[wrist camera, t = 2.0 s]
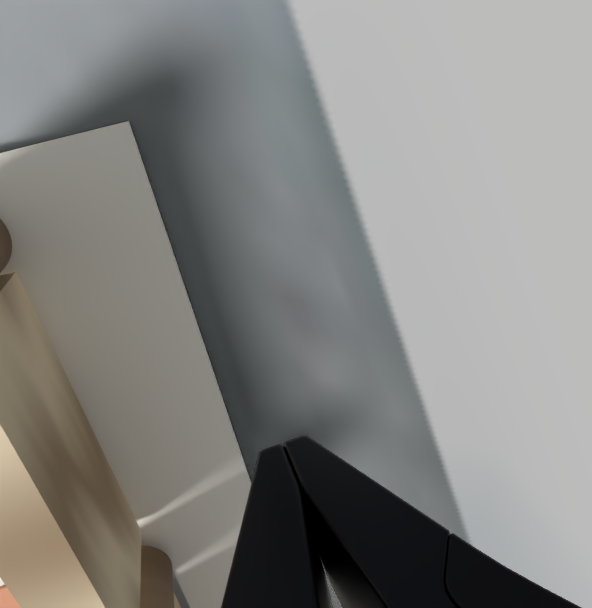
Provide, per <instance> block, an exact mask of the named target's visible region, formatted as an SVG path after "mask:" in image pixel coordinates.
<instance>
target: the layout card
mask: <svg viewBox="0 0 592 608" xmlns="http://www.w3.org/2000/svg"><path fill="white" fill-rule="evenodd" d="M0 219H1V220H2V221H3V223H4V224H5V225H6V227H7V229H8V231H9V233H10V236H11V240H12V253H11V257H10V260H9V262H8V264H7V265H6V267H5V268H4V269H3V270H2V271H1V273H0V276H1V275H5V274H8V273H12V272H17V274H18V276H19V279H20V281H21V283H22V285H23V287H24V289H25V291H26V293H27V295H28V297H29V299H30V301H31V303H32V305H33V308H34V310H35V312H36V314H37V316H38V318H39V320H40V322H41V324H42V326H43V328H44V330H45V332H46V335H47V337H48V339H49V341H50V343H51V345H52V347H53V349H54V351H55V353H56V355H57V357H58V359H59V362H60V364H61V366H62V368H63V370H64V372H65V374H66V376H67V378H68V380H69V382H70V384H71V386H72V388H73V391H74V393H75V395H76V397H77V399H78V401H79V403H80V405H81V407H82V409H83V411H84V413H85V415H86V418H87V420H88V422H89V424H90V426H91V428H92V430H93V432H94V434H95V436H96V438H97V440H98V442H99V445H100V447H101V449H102V451H103V453H104V455H105V457H106V459H107V461H108V463H109V465H110V467H111V469H112V471H113V474H114V476H115V478H116V480H117V482H118V484H119V486H120V488H121V490H122V492H123V494H124V496H125V498H126V501H127V503H128V505H129V507H130V509H131V511H132V513H133V515H134V517H135V519H136V521H137V523H138V525H139V528H140V530H141V545H145V546H152V547H155V548H158V549H160V550H162V551H163V552H165V553H166V554H167V555H168V556H169V558H170V560H171V562H172V567H173V587H174V594H175V596H176V598H177V600H178V602H179V604H180V606H181V608H221V605H222V601H223V597H224V593H225V589H226V585H227V581H228V577H229V573H230V568H231V564H232V560H233V556H234V552H235V548H236V544H237V540H238V536H239V532H240V528H241V524H242V520H243V515H244V511H245V507H246V503H247V499H248V495H249V491H250V487H251V480H250V478H249V475H248V472H247V469H246V466H245V463H244V460H243V457H242V454H241V451H240V448H239V445H238V442H237V439H236V436H235V433H234V430H233V427H232V424H231V421H230V418H229V415H228V412H227V410H226V407H225V404H224V401H223V398H222V395H221V392H220V389H219V386H218V383H217V380H216V377H215V374H214V371H213V368H212V365H211V362H210V359H209V356H208V353H207V350H206V347H205V344H204V342H203V339H202V336H201V333H200V330H199V327H198V324H197V321H196V318H195V315H194V312H193V309H192V306H191V303H190V300H189V297H188V294H187V291H186V288H185V285H184V282H183V279H182V276H181V274H180V271H179V268H178V265H177V262H176V259H175V256H174V253H173V250H172V247H171V244H170V241H169V238H168V235H167V232H166V229H165V226H164V223H163V220H162V217H161V214H160V211H159V208H158V206H157V203H156V200H155V197H154V194H153V191H152V188H151V185H150V182H149V179H148V176H147V173H146V170H145V167H144V164H143V161H142V158H141V155H140V152H139V149H138V146H137V143H136V140H135V138H134V135H133V132H132V129H131V126H130V123H129V121H126V122H122V123H118V124H114V125H110V126H106V127H102V128H98V129H94V130H90V131H86V132H82V133H78V134H74V135H70V136H66V137H62V138H58V139H54V140H50V141H46V142H42V143H38V144H34V145H30V146H26V147H22V148H18V149H14V150H9V151H5V152H1V153H0ZM0 608H21V607H20V606H19V604H18V603H17V601H16V600H15V598H14V597H13V596H12V594H11V593H10V591H9V590H8V588H7V587H6V585H5V584H4V582H3V581H2V579H1V578H0Z"/></svg>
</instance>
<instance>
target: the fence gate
mask: <svg viewBox="0 0 592 608" xmlns="http://www.w3.org/2000/svg"><path fill="white" fill-rule="evenodd" d="M11 253H12V240H11V236H10V233H9V231H8V229H7V227H6V225H5V224H4V223H3V221H2V220H1V219H0V273H1V271H2V270H3V269H4V268H5V267H6V265H7V264H8V262H9V260H10V257H11ZM0 578H1V579H2V581H3V582H4V584H5V585H6V587H7V588H8V590H9V591H10V593H11V594H12V596H13V597H14V598H15V600H16V601H17V603H18V604H19V606H20V607H21V608H174V587H173V567H172V562H171V560H170V558H169V556H168V555H167V554H166V553H165V552H163V551H162V550H160V549H158V548H155V547H152V546H145V545H141V530H140V528H139V525H138V523H137V521H136V519H135V517H134V515H133V513H132V511H131V509H130V507H129V505H128V503H127V501H126V498H125V496H124V494H123V492H122V490H121V488H120V486H119V484H118V482H117V480H116V478H115V476H114V474H113V471H112V469H111V467H110V465H109V463H108V461H107V459H106V457H105V455H104V453H103V451H102V449H101V447H100V445H99V442H98V440H97V438H96V436H95V434H94V432H93V430H92V428H91V426H90V424H89V422H88V420H87V418H86V415H85V413H84V411H83V409H82V407H81V405H80V403H79V401H78V399H77V397H76V395H75V393H74V391H73V388H72V386H71V384H70V382H69V380H68V378H67V376H66V374H65V372H64V370H63V368H62V366H61V364H60V362H59V359H58V357H57V355H56V353H55V351H54V349H53V347H52V345H51V343H50V341H49V339H48V337H47V335H46V332H45V330H44V328H43V326H42V324H41V322H40V320H39V318H38V316H37V314H36V312H35V310H34V308H33V305H32V303H31V301H30V299H29V297H28V295H27V293H26V291H25V289H24V287H23V285H22V283H21V281H20V279H19V276H18V274H17V272H12V273H8V274H5V275H1V276H0Z"/></svg>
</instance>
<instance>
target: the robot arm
mask: <svg viewBox="0 0 592 608" xmlns="http://www.w3.org/2000/svg"><path fill="white" fill-rule="evenodd" d="M322 563H323V565H322ZM323 566H324V568H323ZM324 569H325V571H326V574H327V576H328V578H329V580H330V582H331V585H332V587H333V589H334V591H335V593H336V595H337V597H338V599H339V601H340V603H341V605H342V607H343V608H581V607H579V606H577V605H575V604H573V603H571V602H570V601H568V600H566V599H564V598H562V597H560V596H558V595H556V594H554V593H552V592H550V591H549V590H547V589H545V588H543V587H541V586H539V585H537V584H536V583H534V582H532V581H530V580H528V579H527V578H525V577H523V576H521V575H519V574H518V573H516V572H514V571H512V570H510V569H508V568H507V567H505V566H503V565H502V564H500V563H499V562H497V561H495V560H494V559H492V558H491V557H489V556H487V555H486V554H484V553H483V552H481V551H479V550H478V549H476V548H475V547H473V546H472V545H470V544H469V543H467V542H466V541H464V540H463V539H461V538H460V537H458V536H457V535H455V534H453V533H452V534H450V532H449V530H447V529H446V528H444V527H443V526H441V525H440V524H438V523H437V522H435V521H434V520H432V519H431V518H429V517H428V516H426V515H425V514H423V513H422V512H420V511H419V510H417V509H416V508H414V507H413V506H411V505H410V504H408V503H407V502H405V501H404V500H402V499H401V498H399V497H398V496H396V495H395V494H393V493H392V492H390V491H389V490H387V489H386V488H384V487H383V486H381V485H380V484H378V483H377V482H375V481H374V480H372V479H371V478H369V477H368V476H366V475H365V474H363V473H362V472H360V471H359V470H357V469H356V468H354V467H353V466H351V465H350V464H348V463H347V462H345V461H344V460H342V459H341V458H339V457H338V456H336V455H335V454H333V453H332V452H330V451H329V450H327V449H326V448H324V447H323V446H321V445H320V444H318V443H317V442H315V441H314V440H312V439H311V438H309V437H308V436H305V435H304V436H300V437H297V438H295V439H292V440H289V441H287V442H285V443H284V447H283V446H282V445H281V444H278V445H275V446H272V447H269V448H267V449H264V450H262V451H260V452H259V455H258V458H257V463H256V467H255V471H254V475H253V479H252V483H251V487H250V491H249V495H248V499H247V503H246V507H245V511H244V515H243V520H242V524H241V528H240V532H239V536H238V540H237V544H236V548H235V552H234V556H233V560H232V564H231V568H230V573H229V577H228V581H227V585H226V589H225V593H224V597H223V601H222V605H221V608H333V606H332V601H331V597H330V592H329V588H328V584H327V580H326V576H325V572H324Z"/></svg>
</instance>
